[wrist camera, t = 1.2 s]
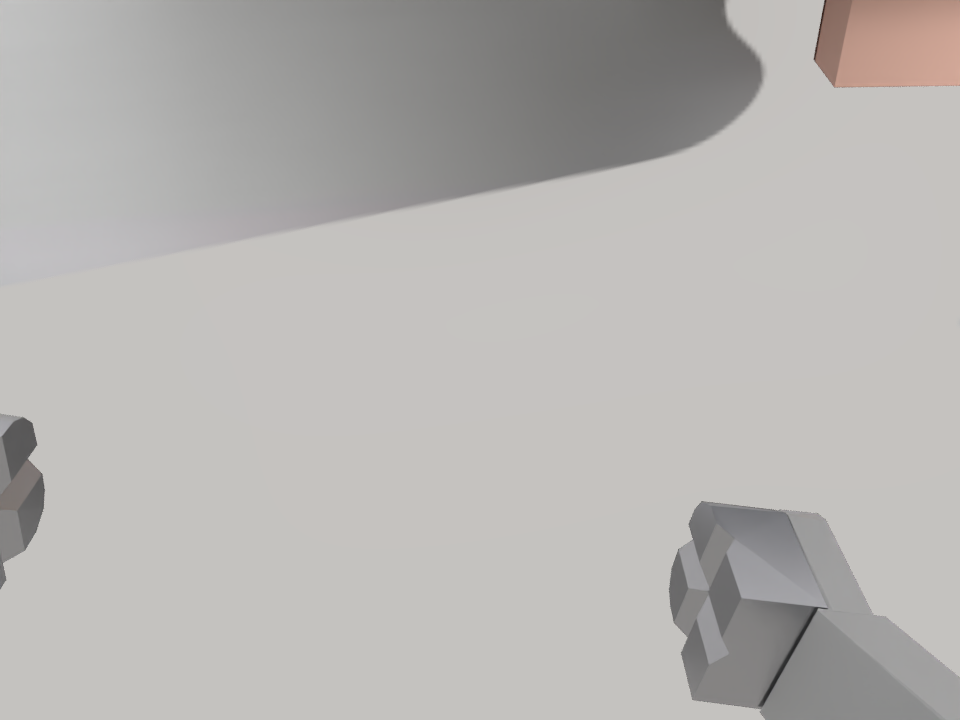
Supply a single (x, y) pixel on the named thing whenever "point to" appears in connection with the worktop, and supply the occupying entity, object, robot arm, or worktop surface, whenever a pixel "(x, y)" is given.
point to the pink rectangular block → (889, 43)
